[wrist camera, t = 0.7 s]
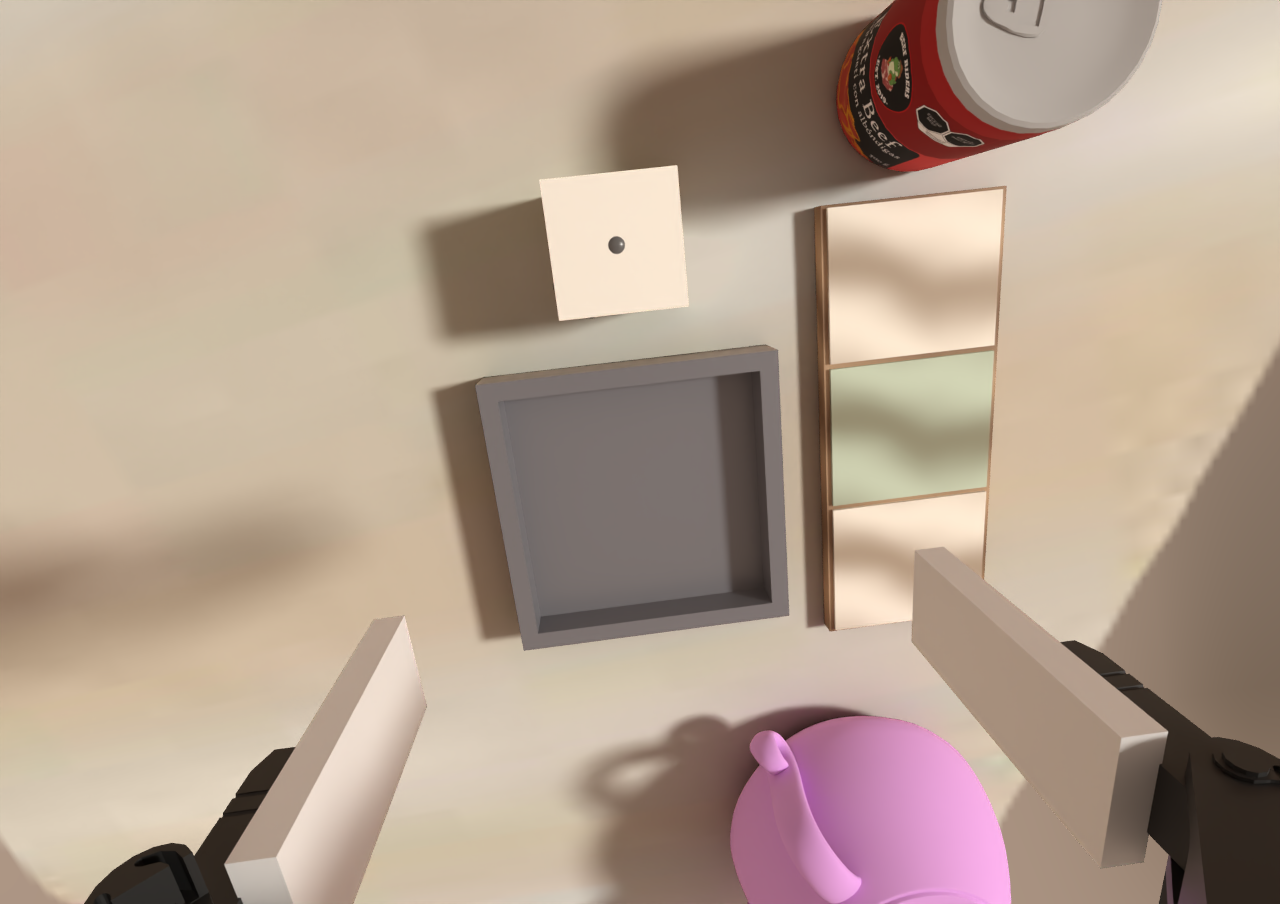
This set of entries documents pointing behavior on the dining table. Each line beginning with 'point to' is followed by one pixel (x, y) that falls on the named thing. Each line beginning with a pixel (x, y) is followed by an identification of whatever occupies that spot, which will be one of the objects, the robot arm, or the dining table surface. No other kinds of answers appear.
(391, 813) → the dining table surface
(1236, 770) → the robot arm
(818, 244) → the board
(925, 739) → the teapot
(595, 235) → the cream cube
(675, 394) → the dice tray
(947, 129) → the canned food
